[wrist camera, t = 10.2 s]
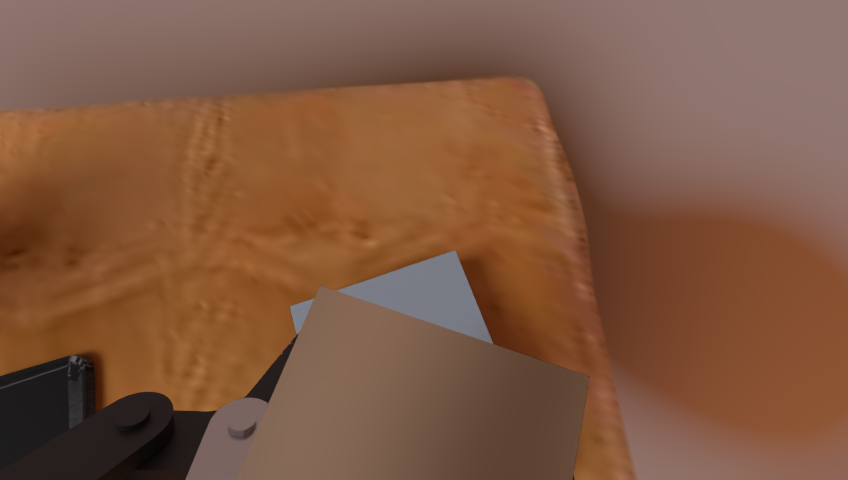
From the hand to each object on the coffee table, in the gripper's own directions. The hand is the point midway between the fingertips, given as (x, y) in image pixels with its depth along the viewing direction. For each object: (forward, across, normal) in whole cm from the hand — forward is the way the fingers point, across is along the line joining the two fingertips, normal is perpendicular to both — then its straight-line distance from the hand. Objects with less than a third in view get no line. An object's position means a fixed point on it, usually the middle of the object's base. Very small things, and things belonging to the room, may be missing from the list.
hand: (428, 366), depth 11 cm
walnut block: (+2, 0, +5) cm, 5 cm away
